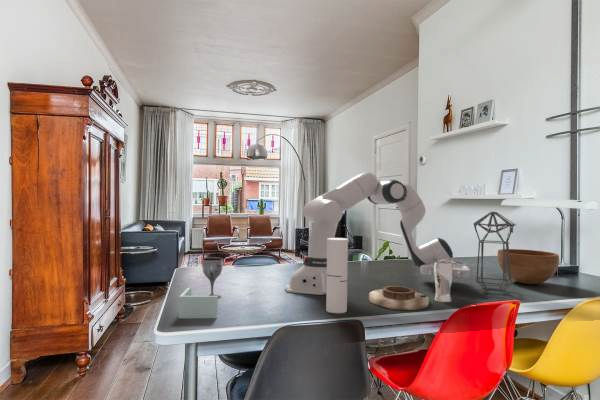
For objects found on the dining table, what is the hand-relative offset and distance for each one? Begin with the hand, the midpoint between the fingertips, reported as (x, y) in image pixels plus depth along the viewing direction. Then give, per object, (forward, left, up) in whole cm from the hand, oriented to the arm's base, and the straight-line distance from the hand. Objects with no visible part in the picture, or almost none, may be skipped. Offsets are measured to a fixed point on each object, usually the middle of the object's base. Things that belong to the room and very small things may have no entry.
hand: (444, 274), depth 149 cm
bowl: (+47, +25, -8) cm, 54 cm away
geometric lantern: (+23, +7, -8) cm, 25 cm away
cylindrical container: (-46, -29, -8) cm, 55 cm away
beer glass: (-4, -11, -8) cm, 15 cm away
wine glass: (-94, -18, -8) cm, 96 cm away
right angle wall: (-91, -37, -9) cm, 99 cm away
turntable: (-22, -15, -8) cm, 28 cm away
